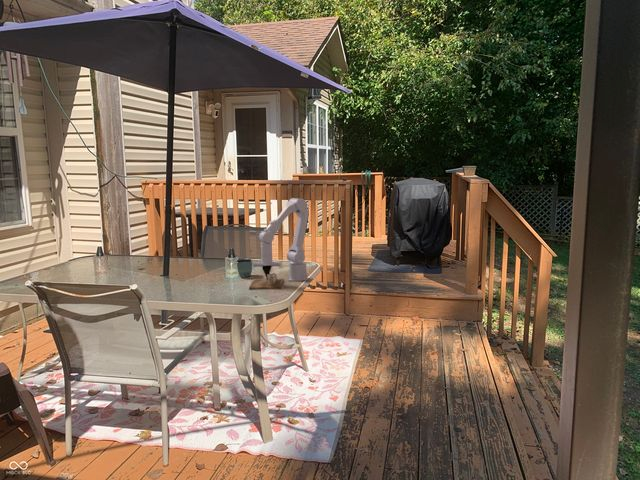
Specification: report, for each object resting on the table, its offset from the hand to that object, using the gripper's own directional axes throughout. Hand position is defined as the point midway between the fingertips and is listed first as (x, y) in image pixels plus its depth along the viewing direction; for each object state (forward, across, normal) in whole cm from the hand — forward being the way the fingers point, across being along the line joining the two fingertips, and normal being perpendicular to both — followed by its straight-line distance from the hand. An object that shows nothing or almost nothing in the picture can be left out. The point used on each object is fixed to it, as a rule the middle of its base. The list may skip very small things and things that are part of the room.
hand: (267, 280), depth 261 cm
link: (+1, +2, +1) cm, 3 cm away
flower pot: (+2, -15, +22) cm, 27 cm away
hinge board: (+2, 0, -2) cm, 3 cm away
